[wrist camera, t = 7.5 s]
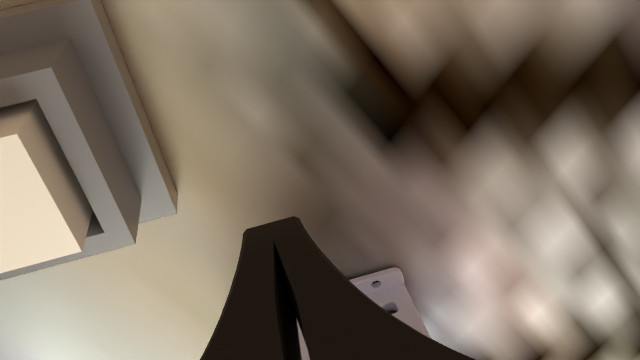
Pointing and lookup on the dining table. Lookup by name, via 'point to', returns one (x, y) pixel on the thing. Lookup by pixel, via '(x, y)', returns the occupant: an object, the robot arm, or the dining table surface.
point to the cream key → (37, 192)
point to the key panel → (87, 116)
